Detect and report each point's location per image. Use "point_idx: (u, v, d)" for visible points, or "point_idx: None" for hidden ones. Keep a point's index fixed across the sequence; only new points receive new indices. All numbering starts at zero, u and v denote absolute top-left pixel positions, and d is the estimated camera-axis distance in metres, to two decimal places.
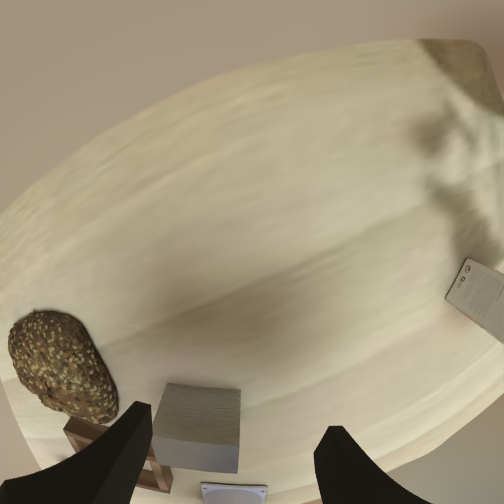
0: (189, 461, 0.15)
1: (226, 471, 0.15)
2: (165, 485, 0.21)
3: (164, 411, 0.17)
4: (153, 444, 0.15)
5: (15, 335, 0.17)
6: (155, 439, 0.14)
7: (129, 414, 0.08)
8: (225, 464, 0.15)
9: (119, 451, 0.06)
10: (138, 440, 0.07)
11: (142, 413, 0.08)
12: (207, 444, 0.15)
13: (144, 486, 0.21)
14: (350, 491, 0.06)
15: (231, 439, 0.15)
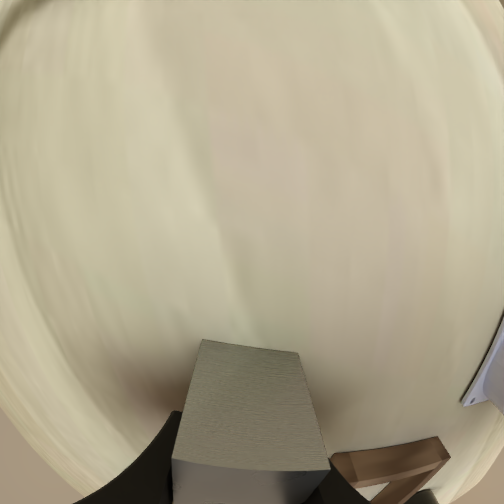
0: None
1: (312, 483, 0.05)
2: (427, 466, 0.11)
3: None
4: None
5: None
6: None
7: (171, 425, 0.08)
8: (270, 485, 0.05)
9: (168, 465, 0.06)
10: None
11: None
12: (177, 491, 0.05)
13: (423, 482, 0.12)
14: None
15: None
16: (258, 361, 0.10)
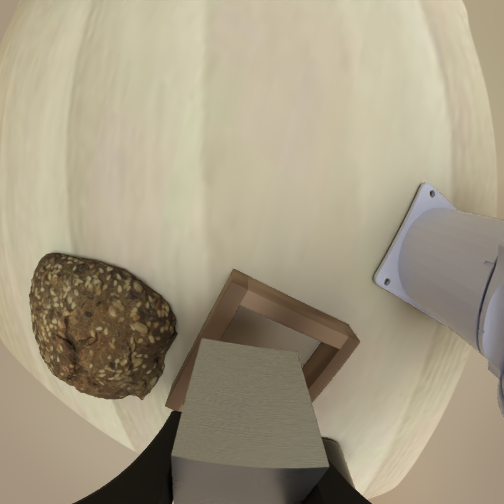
0: None
1: (311, 480, 0.06)
2: (329, 330, 0.16)
3: None
4: None
5: (38, 344, 0.16)
6: None
7: (170, 425, 0.08)
8: (269, 482, 0.05)
9: (168, 465, 0.06)
10: None
11: None
12: (177, 488, 0.06)
13: (326, 373, 0.17)
14: (308, 495, 0.06)
15: None
16: (257, 359, 0.10)
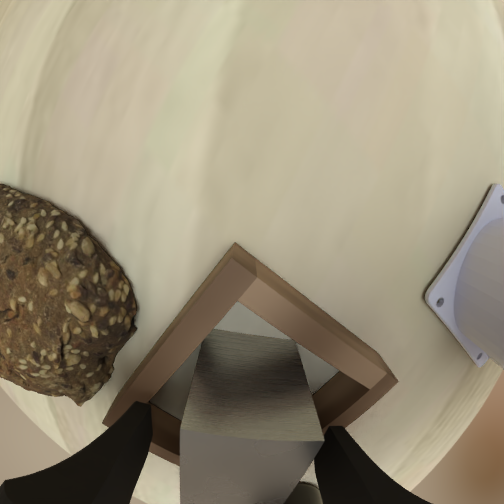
0: (257, 491, 0.07)
1: (308, 455, 0.06)
2: (365, 362, 0.10)
3: None
4: None
5: None
6: None
7: (129, 414, 0.08)
8: (269, 457, 0.06)
9: (119, 451, 0.06)
10: (138, 440, 0.07)
11: (142, 413, 0.08)
12: (184, 465, 0.07)
13: (341, 420, 0.10)
14: (350, 491, 0.06)
15: None
16: (258, 346, 0.11)
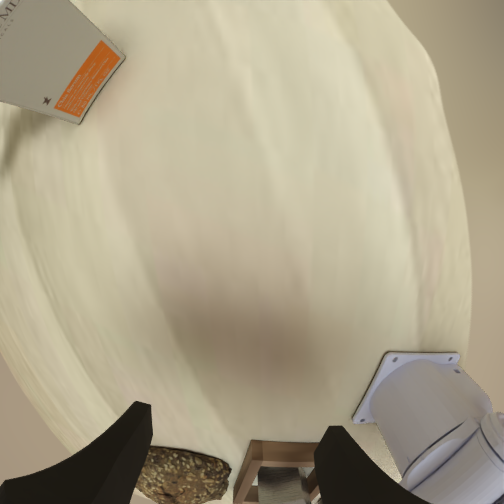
0: None
1: (302, 502, 0.16)
2: None
3: None
4: None
5: None
6: None
7: (129, 414, 0.08)
8: None
9: (119, 451, 0.06)
10: (138, 440, 0.07)
11: (142, 413, 0.08)
12: None
13: None
14: (350, 491, 0.06)
15: None
16: None
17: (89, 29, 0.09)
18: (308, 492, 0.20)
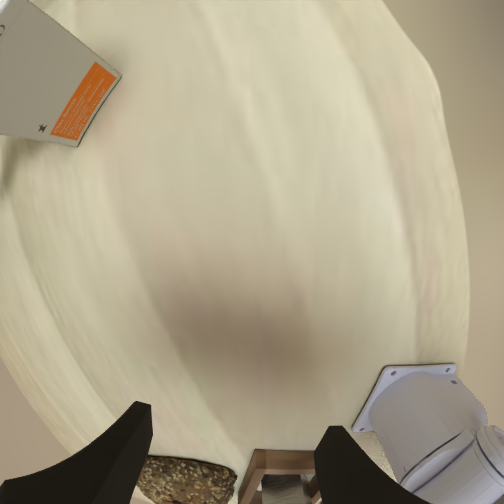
0: None
1: None
2: None
3: None
4: None
5: None
6: None
7: (129, 414, 0.08)
8: None
9: (119, 451, 0.06)
10: (138, 440, 0.07)
11: (142, 413, 0.08)
12: None
13: None
14: (350, 491, 0.06)
15: None
16: None
17: (82, 52, 0.09)
18: (310, 497, 0.21)
